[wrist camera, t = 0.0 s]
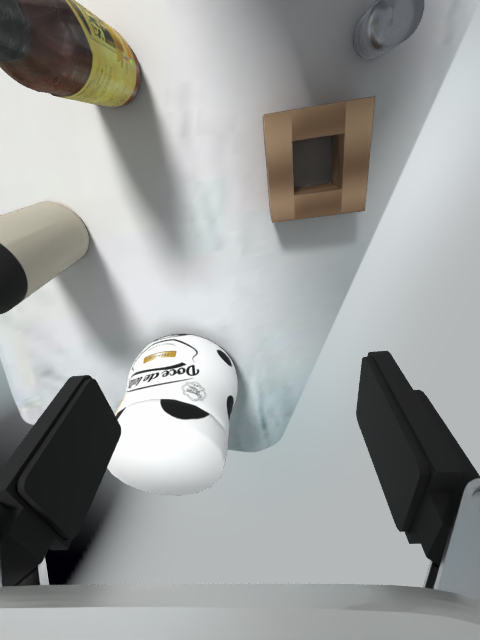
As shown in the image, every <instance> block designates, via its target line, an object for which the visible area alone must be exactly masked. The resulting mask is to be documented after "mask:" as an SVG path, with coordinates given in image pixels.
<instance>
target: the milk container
mask: <svg viewBox="0 0 480 640" xmlns="http://www.w3.org/2000/svg"><path fill="white" fill-rule="evenodd" d="M237 391H238V382H237V375H236V370H235V367H234V364H233V362H232V360H231V359H230V357H229V356H228V355H227V353H226V352H225V351H224V350H223V349H222V348H221V347H219V346H218V345H216V344H215V343H213V342H212V341H210V340H208V339H206V338H203V337H199V336H196V335H192V334H172V335H168V336H165V337H162V338H159V339H157V340H155V341H153V342H152V343H150V344H149V345H148V346H146V347H145V349H144V350H143V351H142V352H141V353H140V354H139V355H138V357H137V358H136V359H135V361H134V363H133V365H132V367H131V369H130V372H129V375H128V381H127V389H126V393H125V396H124V398H123V400H122V402H121V403H120V405H119V407H118V409H117V411H116V413H115V416H116V418H117V420H118V422H119V424H120V426H121V436H120V439H119V441H118V443H117V446H116V448H115V450H114V453H113V455H112V457H111V459H110V462H109V464H108V466H107V468H108V469H109V471H110V472H111V473H112V474H113V475H114V476H116V477H117V478H118V479H120V480H121V481H122V482H124V483H125V484H127V485H130V486H132V487H134V488H137V489H139V490H142V491H146V492H150V493H155V494H159V495H177V496H180V495H187V494H193V493H198V492H200V491H203V490H205V489H207V488H210V487H212V486H213V485H214V484H215V483H216V482H217V481H218V480H219V479H220V478H221V475H222V471H223V468H224V464H225V460H226V455H227V450H228V437H229V418H230V414H231V411H232V409H233V407H234V404H235V401H236V397H237Z"/></svg>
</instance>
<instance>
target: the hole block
mask: <svg viewBox="0 0 480 640" xmlns="http://www.w3.org/2000/svg"><path fill="white" fill-rule="evenodd" d="M374 101H375V96H373V97H367V98H361V99H354V100H348V101H342V102H336V103H330V104H324V105H318V106H312V107H306V108H300V109H294V110H288V111H282V112H276V113H270V114H264V116H263V129H264V142H265V155H266V168H267V181H268V194H269V207H270V215H271V219H272V223H274V222H282V221H289V220H297V219H305V218H313V217H321V216H329V215H336V214H344V213H352V212H360V211H365V203H366V192H367V181H368V169H369V158H370V147H371V135H372V124H373V112H374ZM329 135H333V143H332V179H331V183H324V184H317V185H310V186H303V187H295V188H294V179H293V150H292V141H297V140H303V139H310V138H316V137H323V136H329Z"/></svg>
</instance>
